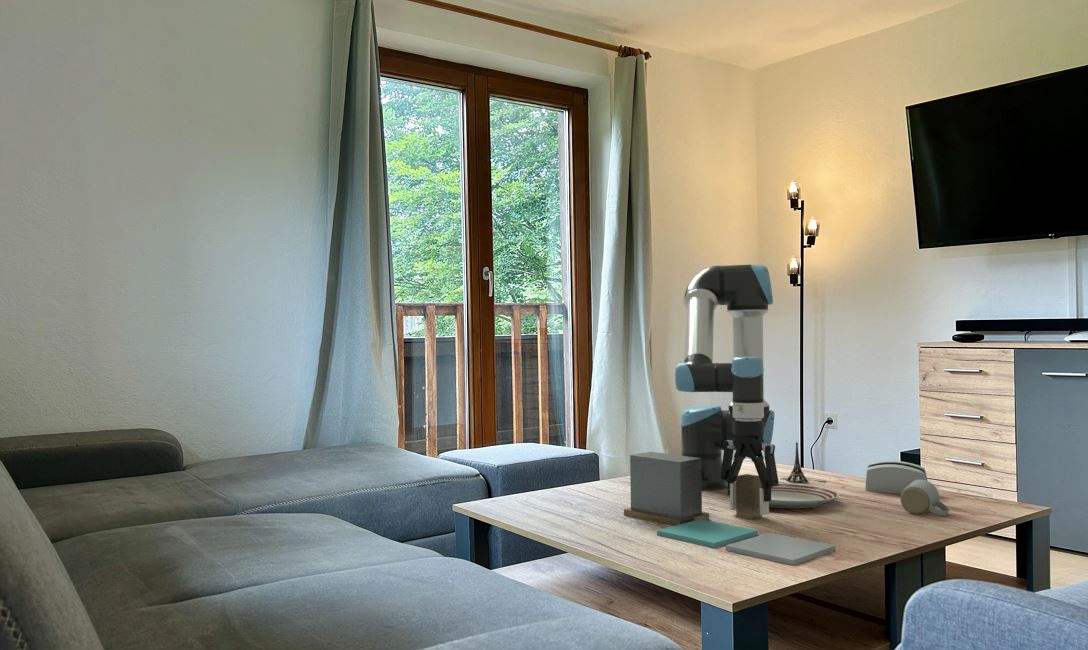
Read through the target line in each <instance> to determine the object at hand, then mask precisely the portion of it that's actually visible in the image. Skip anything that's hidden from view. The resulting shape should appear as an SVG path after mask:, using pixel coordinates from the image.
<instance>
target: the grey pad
mask: <svg viewBox="0 0 1088 650" xmlns="http://www.w3.org/2000/svg"><path fill="white" fill-rule="evenodd" d="M834 550H835V551H836V545H835V544H830V543H825V542H818V541H815V540H814V541H813V540H808V539H804V538H799V537H793V536H788V535H783V534H778V533H774V532H767V533H763V534H761V535H756V536H752V537H749V538H745V539H742V540H739V541H735V542H732V543H728V544H725V551H728V552H732V553H737V554H740V555H741V554H742V555H745V556H751V557H755V558H759V559H764V560H768V561H773V562H777V563H781V564H785V565H790V566H794V565H795V566H796V565H797V564H801V563H804V562H806V561H810V560H812V559H815V558H817V557H820V556H823V555H826V554H829V553H832V552H834Z"/></svg>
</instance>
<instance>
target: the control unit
mask: <svg viewBox="0 0 1088 650" xmlns="http://www.w3.org/2000/svg"><path fill="white" fill-rule="evenodd" d="M629 458H630V459H629V464H630V465H629V466H630V467H629V468H630V469H629V472H630V477H629V478H630V480H629V481H630V507H629V508H628V507H627V508H624V509H623V516H627V517H630V518H635V519H640V520H645V521H650V522H655V523H659V524H664V525H669V526H676V525H680V524H684V523H688V522H692V521H695V520H699V519H703V520H708V521H710V513H708V512H704V511H703V496H702V495H703V494H702V493H703V492H702V491H703V490H702V478H701V458H695V457H688V456H682V455H678V454H672V453H665V452H656V451H647V452H641V453H635V454H630V455H629Z"/></svg>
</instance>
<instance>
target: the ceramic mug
mask: <svg viewBox="0 0 1088 650" xmlns="http://www.w3.org/2000/svg"><path fill="white" fill-rule="evenodd" d="M900 503H901V506H902V508H903V509H904V510H905V511H906V512H908V513H910V514H912V515H924V514H926V513H927V512H930V513H933V514H934V515H937V516H940V517H947V516H948V514H949V513H950V508H949V507H948V505H946V504H945V503H943V502H942V501H940V493H939V491H938V489H937V487H936V486H935V485H934V484H933V483H932V482H930V481H928V480H927V481H926V480H915V481H913V482H912V483H911V484H910V485H908V486H907V487H906V488H905V489H904V490H903V492H902V494H901V493H900Z"/></svg>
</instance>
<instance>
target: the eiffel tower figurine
mask: <svg viewBox="0 0 1088 650" xmlns="http://www.w3.org/2000/svg"><path fill="white" fill-rule="evenodd" d="M799 457H800V455H799V443H798V441H796V442H795V457H794V464H793V469H792V471H790V475H789V476H788V477H781V478H780V480H783V481H786V482H788V483H789V484H810V482H809V481H811V479H810V478H809V479H808V478H806V476H805V474H804V472H803V470H802V467H801V464H800V458H799ZM812 481H814V482H815V481H816V482H818V483H822V484H823V483H825V484H826V483H828V482H829V481H828V480H827V481H826V480H818V479H817V480H816V479H812Z"/></svg>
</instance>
